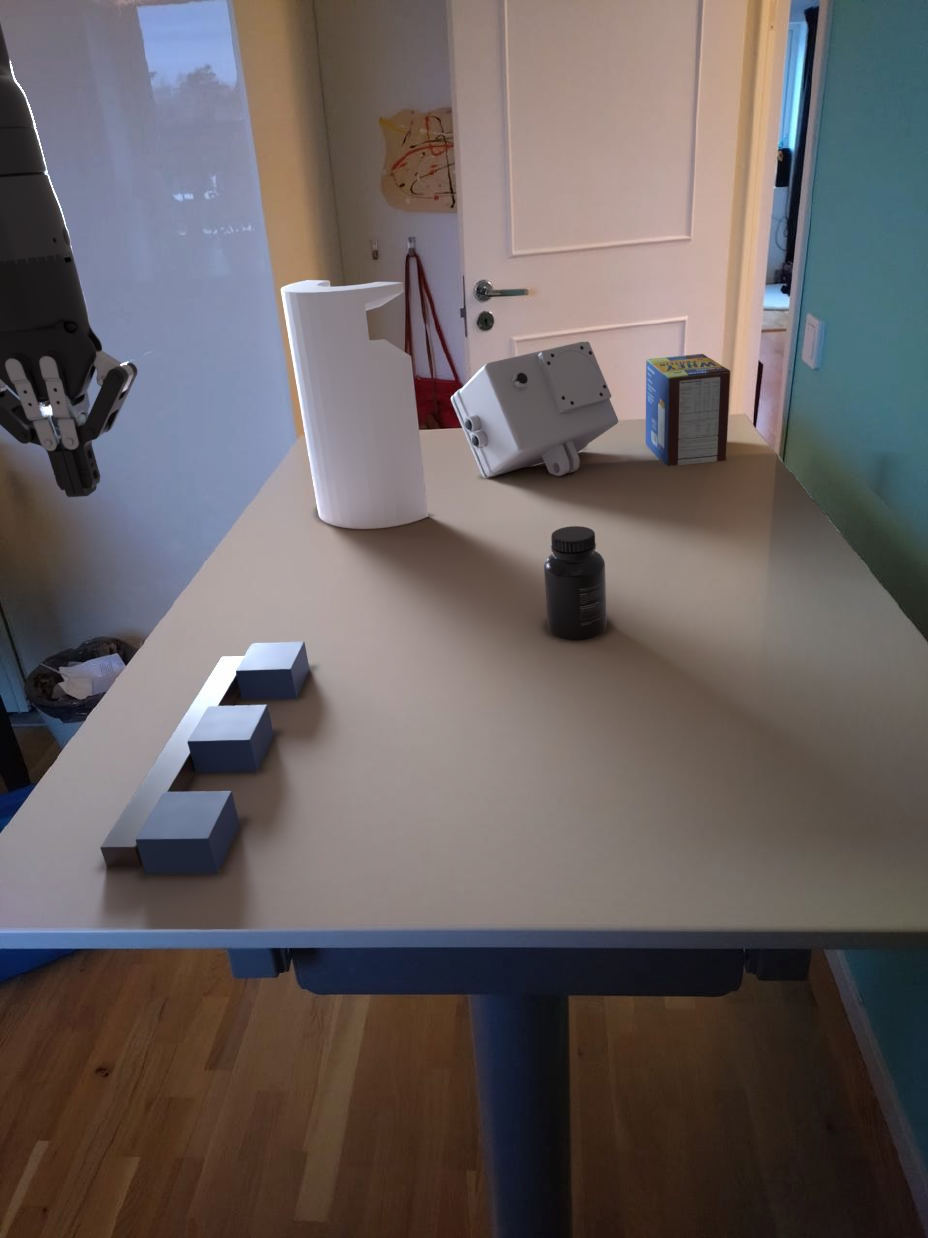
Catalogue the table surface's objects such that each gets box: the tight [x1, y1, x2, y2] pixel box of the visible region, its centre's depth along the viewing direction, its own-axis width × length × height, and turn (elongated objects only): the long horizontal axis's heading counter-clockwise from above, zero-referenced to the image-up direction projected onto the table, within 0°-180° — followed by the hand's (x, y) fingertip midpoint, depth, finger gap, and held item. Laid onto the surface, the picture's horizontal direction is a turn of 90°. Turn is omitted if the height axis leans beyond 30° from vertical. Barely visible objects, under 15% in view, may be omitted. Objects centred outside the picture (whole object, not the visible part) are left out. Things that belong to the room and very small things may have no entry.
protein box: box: [645, 353, 732, 467], centre depth 155 cm, size 10×15×16 cm
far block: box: [236, 641, 310, 700], centre depth 97 cm, size 6×6×4 cm
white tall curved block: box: [280, 279, 429, 530], centre depth 136 cm, size 35×11×21 cm
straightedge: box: [99, 655, 245, 868], centre depth 86 cm, size 3×31×2 cm, turn 175°
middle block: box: [187, 704, 275, 774], centre depth 86 cm, size 6×6×4 cm
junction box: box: [450, 341, 619, 479], centre depth 153 cm, size 24×15×22 cm
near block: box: [136, 790, 241, 875], centre depth 74 cm, size 6×6×4 cm
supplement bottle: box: [543, 525, 608, 641], centre depth 101 cm, size 7×7×12 cm
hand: (83, 493), depth 69 cm, fingers closed
